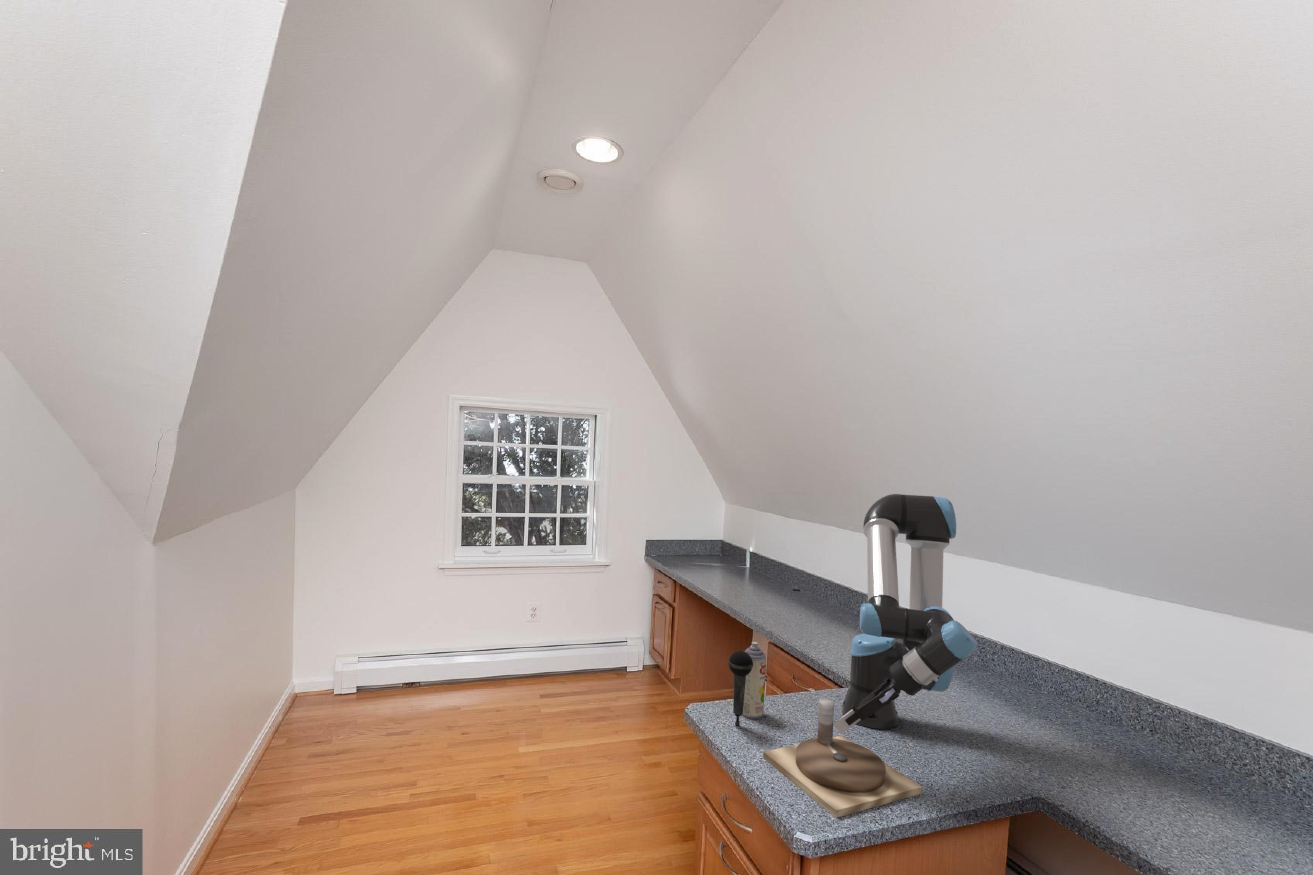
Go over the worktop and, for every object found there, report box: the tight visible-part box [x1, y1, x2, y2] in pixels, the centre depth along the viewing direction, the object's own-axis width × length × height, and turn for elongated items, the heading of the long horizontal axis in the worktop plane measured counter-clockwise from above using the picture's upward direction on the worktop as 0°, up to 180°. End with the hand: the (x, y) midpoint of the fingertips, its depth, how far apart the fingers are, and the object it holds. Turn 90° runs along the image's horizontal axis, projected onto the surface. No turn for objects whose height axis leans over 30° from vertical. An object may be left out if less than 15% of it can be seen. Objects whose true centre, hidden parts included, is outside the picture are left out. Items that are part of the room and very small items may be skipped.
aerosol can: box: [740, 641, 767, 720], centre depth 169 cm, size 7×7×20 cm
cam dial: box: [796, 697, 886, 792], centre depth 138 cm, size 20×20×12 cm
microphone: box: [727, 650, 753, 727], centre depth 161 cm, size 7×7×20 cm
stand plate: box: [762, 735, 923, 819], centre depth 138 cm, size 25×25×2 cm
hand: (838, 728), depth 145 cm, fingers closed
